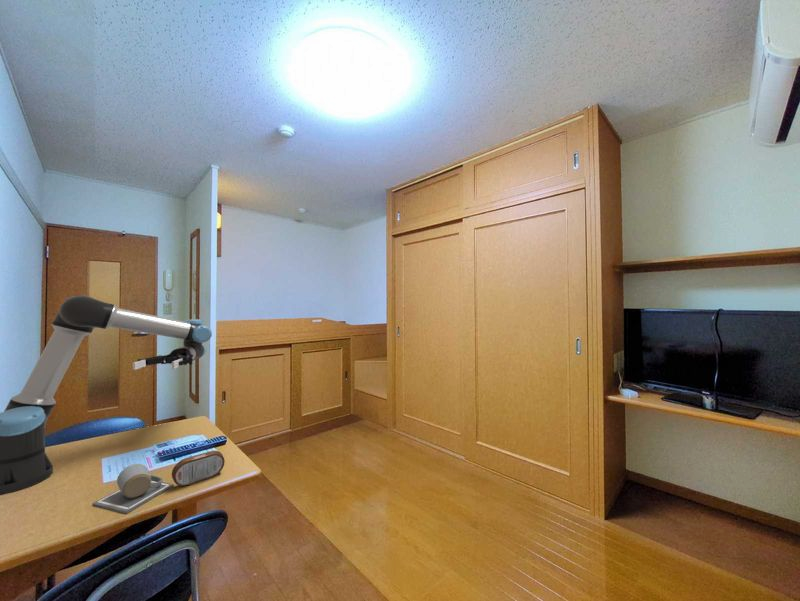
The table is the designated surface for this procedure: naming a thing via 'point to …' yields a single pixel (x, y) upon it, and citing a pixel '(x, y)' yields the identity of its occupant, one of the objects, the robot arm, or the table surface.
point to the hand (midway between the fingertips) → (153, 365)
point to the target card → (130, 499)
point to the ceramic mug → (136, 480)
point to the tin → (198, 468)
